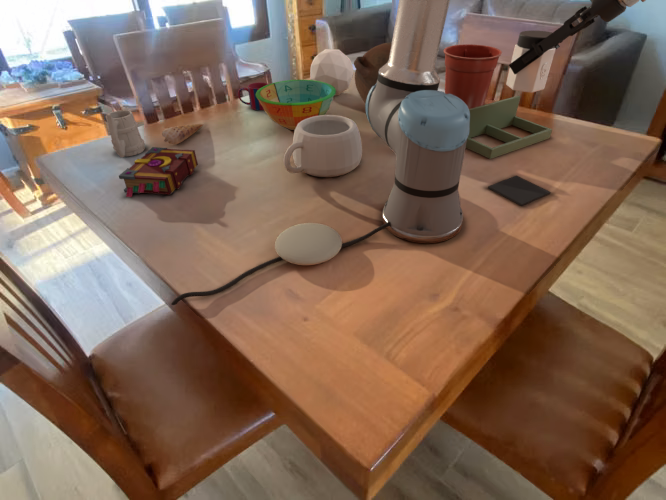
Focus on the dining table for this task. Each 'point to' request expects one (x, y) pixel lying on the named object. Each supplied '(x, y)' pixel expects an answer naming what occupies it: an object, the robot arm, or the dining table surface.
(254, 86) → the cup
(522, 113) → the dining table surface
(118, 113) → the mug
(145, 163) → the decorative book
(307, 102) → the bowl
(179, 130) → the seashell
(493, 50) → the flower pot
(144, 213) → the dining table surface
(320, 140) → the mug
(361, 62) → the jug
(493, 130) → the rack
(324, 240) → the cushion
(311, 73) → the geometric sphere
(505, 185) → the mat
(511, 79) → the jar
